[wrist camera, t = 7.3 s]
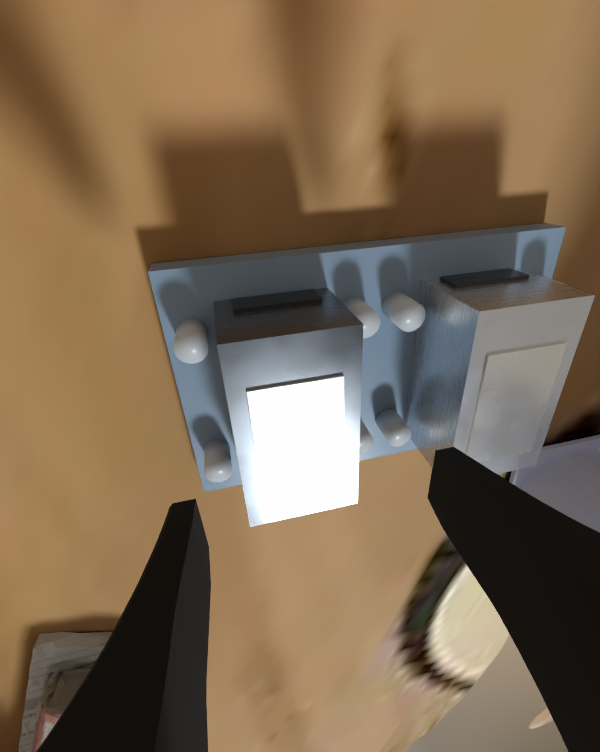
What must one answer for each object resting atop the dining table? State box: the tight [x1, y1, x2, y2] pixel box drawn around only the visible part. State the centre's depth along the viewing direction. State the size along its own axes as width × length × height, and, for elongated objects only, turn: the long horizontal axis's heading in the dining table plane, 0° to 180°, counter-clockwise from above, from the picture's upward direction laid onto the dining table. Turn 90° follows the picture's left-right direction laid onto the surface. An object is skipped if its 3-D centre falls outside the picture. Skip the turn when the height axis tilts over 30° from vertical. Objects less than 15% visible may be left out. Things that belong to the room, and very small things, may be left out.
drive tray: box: [148, 223, 566, 492], centre depth 17 cm, size 17×11×3 cm, turn 93°
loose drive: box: [214, 288, 363, 527], centre depth 15 cm, size 4×8×4 cm, turn 3°
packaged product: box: [19, 632, 112, 752], centre depth 27 cm, size 18×5×10 cm
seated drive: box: [405, 268, 595, 474], centre depth 16 cm, size 4×8×4 cm, turn 3°
